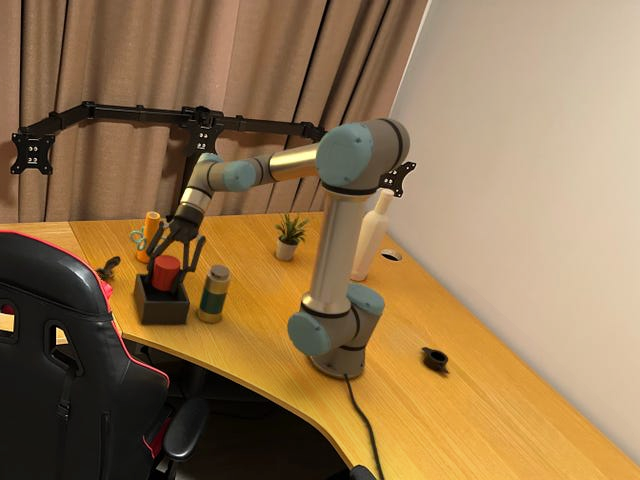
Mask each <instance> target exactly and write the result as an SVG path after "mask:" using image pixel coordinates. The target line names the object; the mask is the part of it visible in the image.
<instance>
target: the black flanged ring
mask: <svg viewBox="0 0 640 480" xmlns="http://www.w3.org/2000/svg"><path fill="white" fill-rule="evenodd" d="M420 350H421V351H423V352H424V354H425V356H424V358H423V360H422V361H423V364H424V366H426V367H427V368H428V369H430V370H431V371H435V372H443V373H445V374H447V375H448V374H451V373H450V371H449V370H448V369H447V368H446V366H447V364H448V362H449V357H448V355H447V354H445V353H444V352H443V351H441V350H439V349H432V348H430V347H427V346H423V347H421V348H420Z"/></svg>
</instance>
